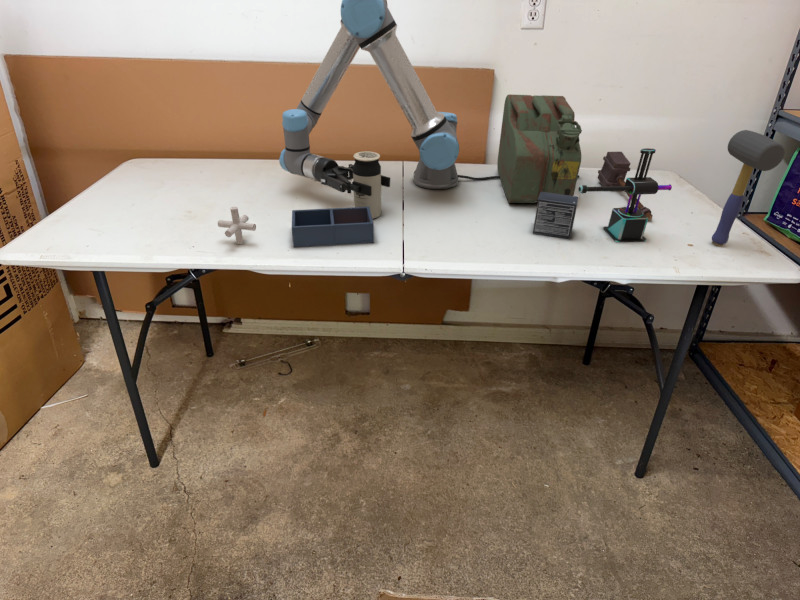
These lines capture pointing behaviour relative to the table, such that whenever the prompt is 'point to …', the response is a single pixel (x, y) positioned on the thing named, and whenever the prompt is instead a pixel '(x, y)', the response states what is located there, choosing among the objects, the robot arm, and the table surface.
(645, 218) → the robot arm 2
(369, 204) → the travel mug
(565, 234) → the small box
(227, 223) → the pipe connector
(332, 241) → the divided storage bin
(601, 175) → the hammer
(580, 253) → the table surface
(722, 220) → the rubber mallet
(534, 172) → the fuel can
